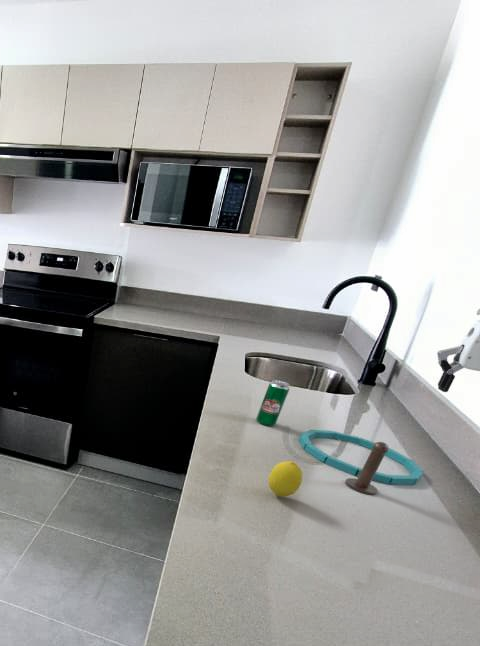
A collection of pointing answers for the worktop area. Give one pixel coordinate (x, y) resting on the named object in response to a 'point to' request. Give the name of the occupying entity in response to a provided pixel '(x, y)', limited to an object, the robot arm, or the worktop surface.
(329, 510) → the worktop surface
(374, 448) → the ring toss
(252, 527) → the worktop surface
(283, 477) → the lemon
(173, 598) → the worktop surface
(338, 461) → the ring
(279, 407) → the soda can
